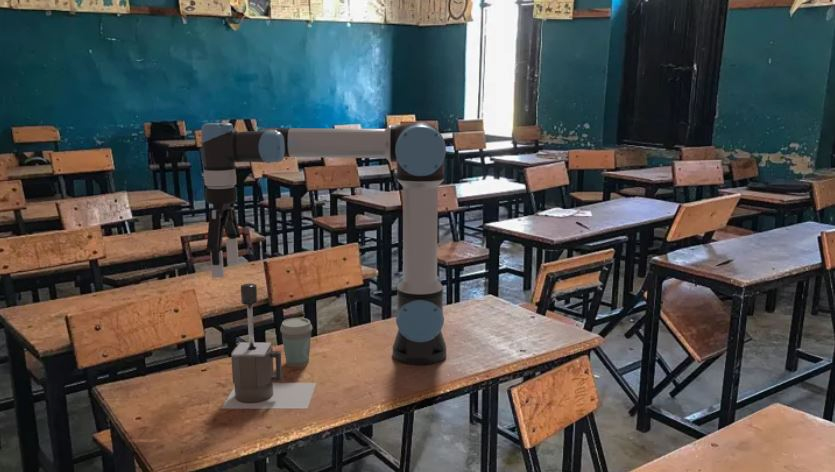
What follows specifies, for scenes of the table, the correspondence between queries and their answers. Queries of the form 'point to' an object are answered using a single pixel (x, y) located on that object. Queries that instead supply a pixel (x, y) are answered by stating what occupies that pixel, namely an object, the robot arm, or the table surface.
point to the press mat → (278, 397)
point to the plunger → (249, 308)
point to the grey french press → (255, 372)
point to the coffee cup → (296, 341)
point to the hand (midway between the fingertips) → (225, 270)
